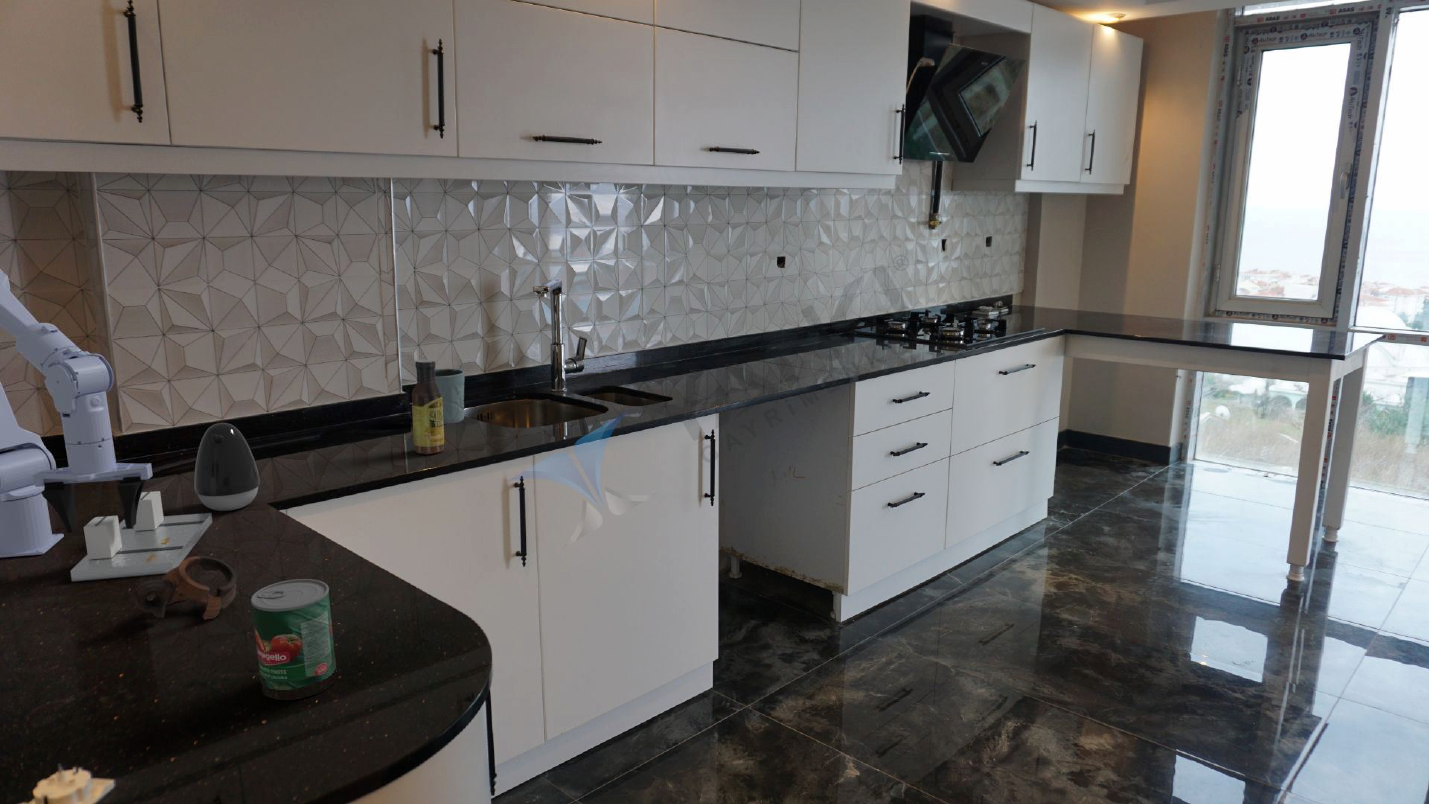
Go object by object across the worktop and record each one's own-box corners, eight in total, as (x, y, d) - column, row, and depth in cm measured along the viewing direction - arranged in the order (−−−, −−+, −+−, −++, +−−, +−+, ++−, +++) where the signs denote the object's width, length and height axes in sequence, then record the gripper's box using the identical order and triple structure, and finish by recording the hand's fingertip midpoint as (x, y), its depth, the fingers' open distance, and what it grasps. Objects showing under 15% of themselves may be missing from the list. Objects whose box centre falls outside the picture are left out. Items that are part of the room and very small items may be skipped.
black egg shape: (190, 518, 157) (179, 432, 153) (205, 499, 167) (195, 418, 163) (255, 513, 159) (246, 428, 156) (267, 495, 169) (258, 414, 166)
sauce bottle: (435, 456, 195) (430, 364, 191) (409, 454, 196) (402, 362, 192) (450, 448, 201) (445, 358, 197) (424, 446, 202) (418, 357, 198)
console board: (71, 581, 131) (70, 570, 131) (125, 528, 152) (124, 518, 152) (173, 572, 134) (172, 561, 134) (212, 522, 155) (211, 512, 155)
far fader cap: (134, 531, 146) (129, 500, 145) (143, 521, 150) (139, 491, 149) (155, 529, 147) (151, 499, 146) (163, 520, 151) (159, 490, 150)
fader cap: (88, 559, 135) (83, 526, 134) (99, 548, 139) (94, 516, 138) (111, 557, 135) (106, 524, 134) (122, 546, 140) (117, 515, 138)
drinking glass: (472, 415, 231) (470, 368, 228) (457, 425, 221) (455, 376, 218) (434, 414, 232) (431, 367, 229) (417, 424, 222) (414, 375, 219)
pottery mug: (201, 593, 129) (225, 547, 127) (232, 639, 125) (257, 591, 123) (110, 603, 118) (133, 553, 117) (140, 653, 114) (165, 602, 112)
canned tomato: (347, 665, 108) (339, 578, 106) (321, 701, 101) (312, 608, 98) (279, 666, 108) (269, 578, 106) (248, 702, 101) (237, 608, 98)
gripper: (18, 450, 128) (34, 542, 131) (135, 443, 131) (148, 533, 134) (40, 437, 134) (54, 525, 137) (151, 431, 138) (163, 517, 141)
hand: (102, 528), depth 136 cm, fingers open, 7 cm apart
